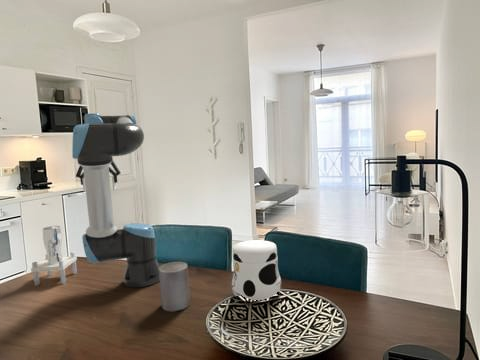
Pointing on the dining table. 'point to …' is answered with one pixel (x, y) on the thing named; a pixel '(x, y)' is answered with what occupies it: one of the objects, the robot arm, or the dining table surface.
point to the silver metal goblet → (53, 244)
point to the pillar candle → (174, 286)
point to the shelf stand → (54, 267)
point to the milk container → (255, 270)
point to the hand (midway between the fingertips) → (100, 190)
